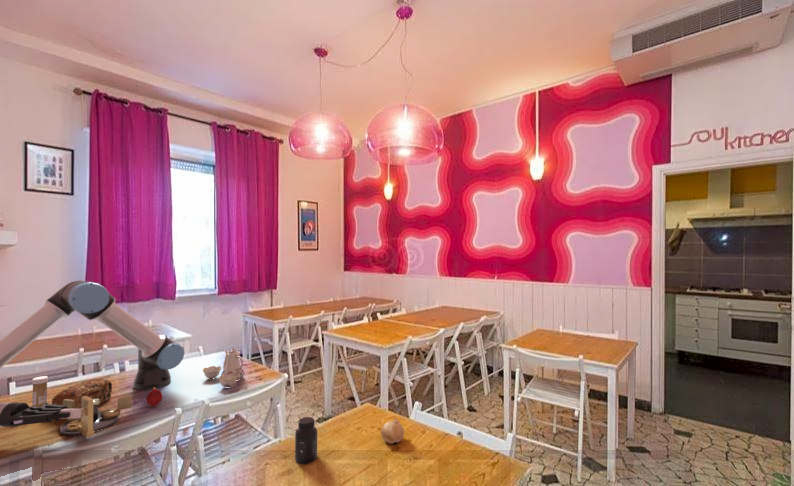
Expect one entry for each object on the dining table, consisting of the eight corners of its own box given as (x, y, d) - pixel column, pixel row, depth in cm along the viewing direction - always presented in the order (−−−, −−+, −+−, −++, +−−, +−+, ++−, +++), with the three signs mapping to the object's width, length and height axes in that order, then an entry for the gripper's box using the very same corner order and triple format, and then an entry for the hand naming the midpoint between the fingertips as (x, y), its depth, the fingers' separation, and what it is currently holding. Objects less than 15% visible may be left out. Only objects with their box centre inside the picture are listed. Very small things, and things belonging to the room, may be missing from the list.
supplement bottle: (290, 461, 118) (290, 422, 118) (304, 450, 124) (304, 413, 124) (308, 466, 115) (308, 427, 115) (321, 455, 121) (321, 417, 121)
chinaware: (196, 383, 189) (193, 350, 188) (228, 370, 202) (225, 340, 201) (227, 396, 173) (224, 360, 171) (259, 382, 186) (256, 349, 185)
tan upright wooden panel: (65, 428, 134) (65, 393, 135) (86, 421, 139) (86, 388, 140) (79, 440, 126) (79, 403, 126) (101, 432, 131) (101, 397, 131)
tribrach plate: (132, 407, 156) (133, 387, 156) (130, 425, 141) (130, 402, 141) (63, 420, 144) (63, 398, 144) (51, 441, 129) (52, 416, 129)
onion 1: (165, 405, 158) (165, 386, 158) (151, 410, 153) (151, 391, 153) (156, 402, 161) (156, 384, 161) (142, 408, 156) (143, 388, 156)
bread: (76, 417, 147) (76, 391, 147) (49, 417, 147) (49, 391, 147) (113, 398, 166) (113, 375, 166) (89, 398, 166) (89, 375, 166)
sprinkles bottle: (46, 411, 152) (46, 378, 152) (30, 414, 149) (30, 380, 149) (48, 407, 155) (48, 374, 155) (33, 410, 153) (33, 377, 153)
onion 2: (401, 448, 126) (402, 426, 126) (378, 445, 127) (378, 424, 128) (405, 436, 134) (405, 416, 134) (383, 434, 135) (383, 414, 135)
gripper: (25, 417, 134) (95, 415, 136) (-12, 435, 121) (66, 433, 123) (25, 396, 134) (96, 394, 136) (-11, 411, 121) (67, 410, 123)
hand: (82, 413), depth 129 cm, fingers closed
